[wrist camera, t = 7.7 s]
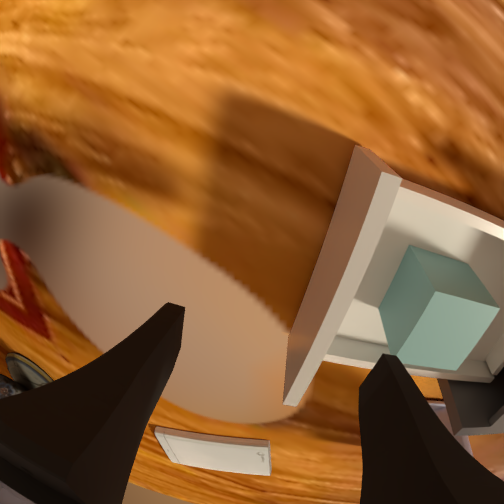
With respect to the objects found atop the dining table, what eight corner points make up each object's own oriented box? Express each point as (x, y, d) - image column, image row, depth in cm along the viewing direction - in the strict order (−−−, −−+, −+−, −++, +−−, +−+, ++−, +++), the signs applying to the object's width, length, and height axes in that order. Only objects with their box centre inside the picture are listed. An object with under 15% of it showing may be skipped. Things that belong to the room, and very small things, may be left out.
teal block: (435, 321, 19) (456, 370, 15) (378, 308, 19) (391, 361, 15) (467, 263, 16) (500, 308, 12) (408, 244, 16) (435, 291, 13)
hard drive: (268, 448, 28) (153, 433, 30) (270, 477, 32) (172, 464, 34) (270, 435, 29) (157, 422, 31) (272, 465, 33) (175, 454, 35)
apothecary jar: (-7, 329, 29) (-86, 430, 13) (68, 377, 29) (-5, 505, 14) (10, 382, 35) (-46, 468, 19) (76, 422, 35) (26, 522, 20)
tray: (475, 369, 21) (495, 420, 16) (288, 337, 21) (282, 404, 16) (557, 234, 15) (602, 276, 10) (355, 144, 15) (382, 171, 10)
